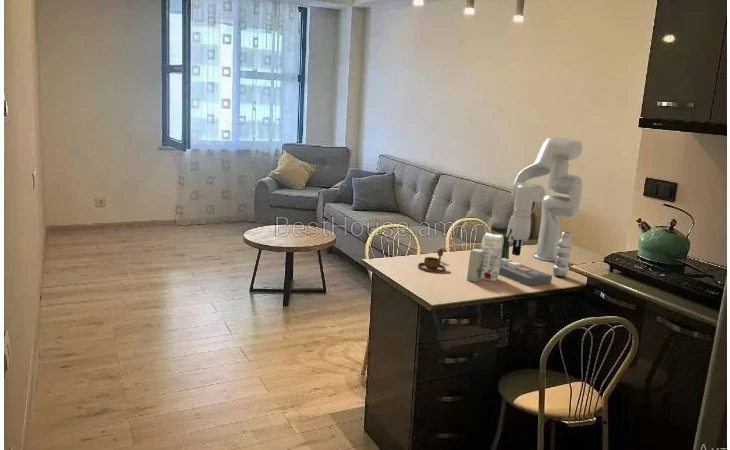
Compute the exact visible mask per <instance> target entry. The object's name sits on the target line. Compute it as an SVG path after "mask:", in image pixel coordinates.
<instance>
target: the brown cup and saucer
mask: <svg viewBox="0 0 730 450" xmlns="http://www.w3.org/2000/svg"><path fill="white" fill-rule="evenodd" d="M437 256H438V258H437V257H432V256H427V257H424V260H423V262H419V263H418V264H417V267H418V269H419V270H421V271H424V272H429V273H441V275H444V274H451V271H449V270H448V271H446V266H444V265H443V264H441V262H442V261H441V257H443V256H444V249H437ZM422 266H425V267H426V268H425V267H422ZM438 268H440V269H438ZM444 271H445V272H444Z"/></svg>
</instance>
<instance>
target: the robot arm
mask: <svg viewBox="0 0 730 450" xmlns="http://www.w3.org/2000/svg"><path fill="white" fill-rule="evenodd" d="M582 152H583V143H582V142H581V141H580V140H577V139H569V138H568V139H567V138H563V137H562V138H561V137H548V138H546V139H545V140H544V142H543V143H542V144H541V147H540V149H539V151H538V153H537V155H536V157H535V159H534V161H533V163H532V164H530V165H528V166H526V167H525V168H523V169H522V170H521V171H520V172H519V173H517V175H516V177H515V179H514V181H513V183H512V186H511V188H510V189H511V190H510V193H511V194H510V195H511V196H512V197H513V198H514V204H513V211H512V215H511V216H510V218H509V221H508V224H507V225H508V229H507V238H509V239H508V242H510V243H511V245H512V250H511V251H512V252H511V255H514V256H517V257H518V256H521V251H522V247H523V245H524V243H526V242H528V241H529V240H528V239H529V238H530V235H531V227H532V226H531V224H532V219H531V218H532V217H531V215H532V209H533V203H539V202H541V217H540V218H541V220H540V227H539V231H538V239H537V244H536V245H537V247H536V252H533V253H532V257H533V258H535V259H538V260H541V261H546V262H547V261H548V262H555V261H556V256H557V242H558V241H559V239H560V233H561V227H562V225H561V224H562V223H561V220H560V218H559V216H560V217H563V218H564V217H565V218H569V219H572V218H573V219H574V218H575V217H577V215H578V213H579V211H580V204H581V199H582V192H583V179H582V178H581V177H580V176H578V175H575V174H569V168H570V167H569V161H574V160H577V159H578V158H579V157H581V155H582ZM547 175H548V180H547V189H548V191H549V192H552V193H557V194H562V195H556V194H547V195H546V191H545V190H546V189H545V188H544V186H542V185H539V184H535V183H529V182H527V181H529V180H531V179H535V178H539V177H543V176H547ZM563 194H564V195H567V196H563ZM568 196H569V197H568Z"/></svg>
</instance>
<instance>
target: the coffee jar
mask: <svg viewBox="0 0 730 450" xmlns="http://www.w3.org/2000/svg"><path fill="white" fill-rule="evenodd" d="M508 225H509V224H505V223H501V222H493V223H492V224H491V228H490V233H491V234H494V235H503V240H504V243H503V251H502V258H506V259H509V260H510V243H511V242H508V239H509V238H507V229H508Z"/></svg>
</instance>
